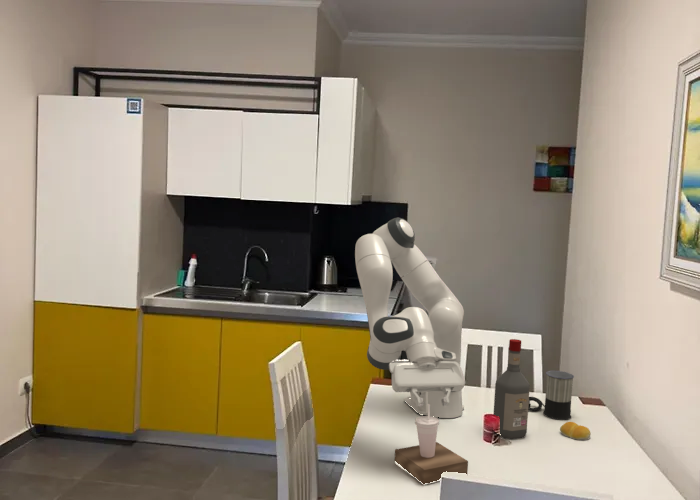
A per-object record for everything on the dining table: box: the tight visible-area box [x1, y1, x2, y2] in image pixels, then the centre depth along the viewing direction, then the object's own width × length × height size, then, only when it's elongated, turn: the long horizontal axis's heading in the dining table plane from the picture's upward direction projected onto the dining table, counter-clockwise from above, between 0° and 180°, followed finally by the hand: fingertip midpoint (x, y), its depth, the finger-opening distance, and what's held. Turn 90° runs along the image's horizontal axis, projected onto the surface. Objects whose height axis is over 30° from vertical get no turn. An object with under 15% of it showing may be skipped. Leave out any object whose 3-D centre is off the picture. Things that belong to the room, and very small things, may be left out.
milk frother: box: [528, 370, 575, 421], centre depth 218 cm, size 14×16×15 cm
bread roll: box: [559, 421, 592, 441], centre depth 198 cm, size 8×9×4 cm
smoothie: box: [414, 404, 440, 458], centre depth 167 cm, size 6×6×14 cm
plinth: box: [394, 441, 469, 485], centre depth 168 cm, size 14×14×4 cm
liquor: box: [493, 338, 531, 440], centre depth 196 cm, size 9×9×30 cm
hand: (433, 405), depth 166 cm, fingers open, 6 cm apart
